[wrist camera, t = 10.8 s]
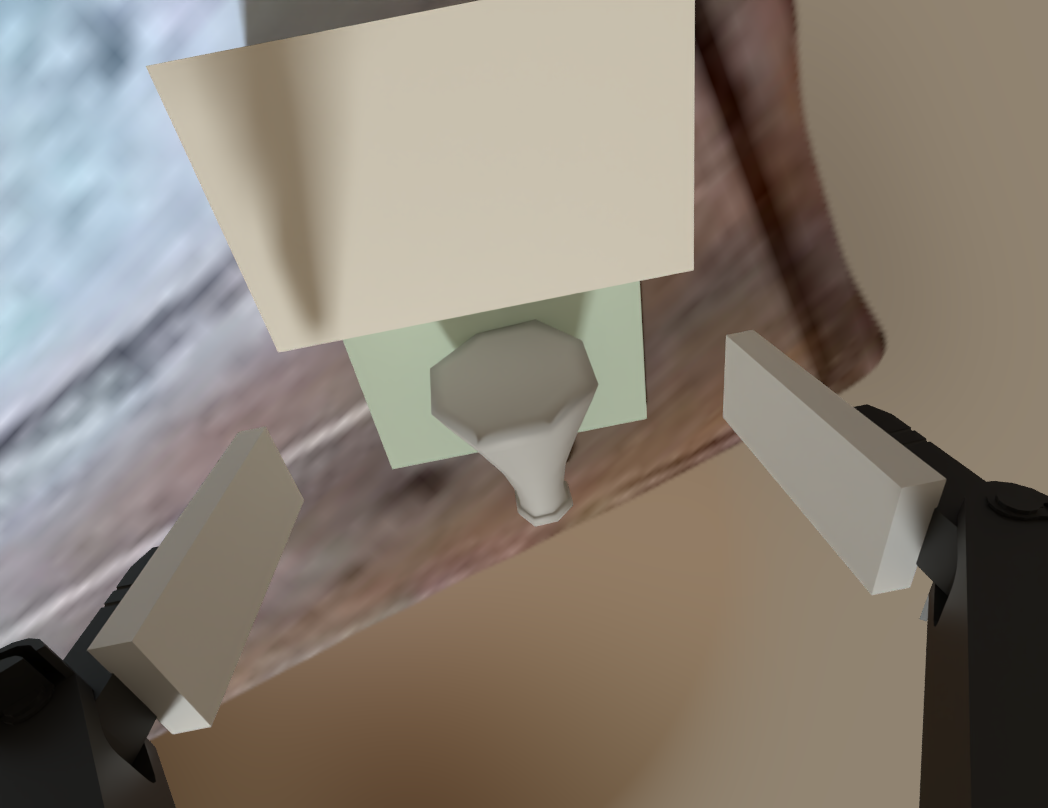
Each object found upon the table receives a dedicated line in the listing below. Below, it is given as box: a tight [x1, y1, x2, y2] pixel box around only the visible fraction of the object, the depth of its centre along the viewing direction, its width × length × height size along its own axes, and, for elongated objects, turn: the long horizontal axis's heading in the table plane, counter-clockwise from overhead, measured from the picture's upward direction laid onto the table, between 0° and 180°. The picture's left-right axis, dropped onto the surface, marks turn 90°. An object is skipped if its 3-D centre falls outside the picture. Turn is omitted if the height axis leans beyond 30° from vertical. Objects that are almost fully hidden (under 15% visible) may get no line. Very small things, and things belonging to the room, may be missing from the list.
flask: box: [430, 319, 599, 526], centre depth 25 cm, size 7×7×10 cm
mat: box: [343, 281, 647, 469], centre depth 25 cm, size 10×14×1 cm
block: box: [146, 0, 695, 352], centre depth 18 cm, size 8×14×7 cm, turn 100°
